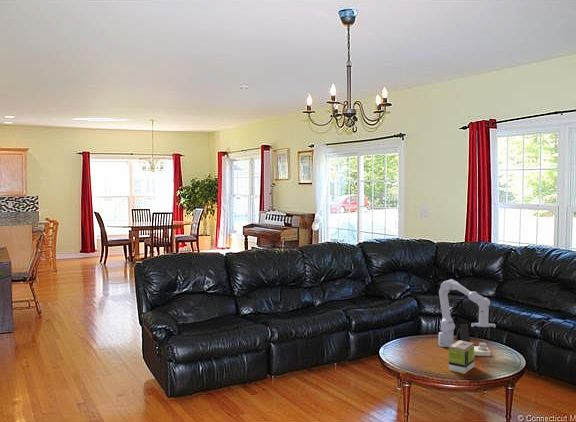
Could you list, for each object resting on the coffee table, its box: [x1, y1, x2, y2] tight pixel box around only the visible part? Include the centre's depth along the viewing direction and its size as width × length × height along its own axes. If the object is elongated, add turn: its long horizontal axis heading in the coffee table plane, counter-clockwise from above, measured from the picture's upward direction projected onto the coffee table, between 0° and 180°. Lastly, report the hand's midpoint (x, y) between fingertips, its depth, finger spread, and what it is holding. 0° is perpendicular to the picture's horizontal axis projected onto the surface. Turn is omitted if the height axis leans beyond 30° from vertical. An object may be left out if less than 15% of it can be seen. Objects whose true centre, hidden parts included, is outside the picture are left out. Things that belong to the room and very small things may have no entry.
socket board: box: [474, 345, 492, 357], centre depth 343 cm, size 16×11×3 cm
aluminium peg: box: [478, 342, 488, 351], centre depth 343 cm, size 4×4×6 cm
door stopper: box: [455, 323, 471, 342], centre depth 367 cm, size 9×6×12 cm, turn 14°
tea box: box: [448, 340, 475, 374], centre depth 315 cm, size 15×10×15 cm
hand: (483, 338), depth 343 cm, fingers open, 7 cm apart
